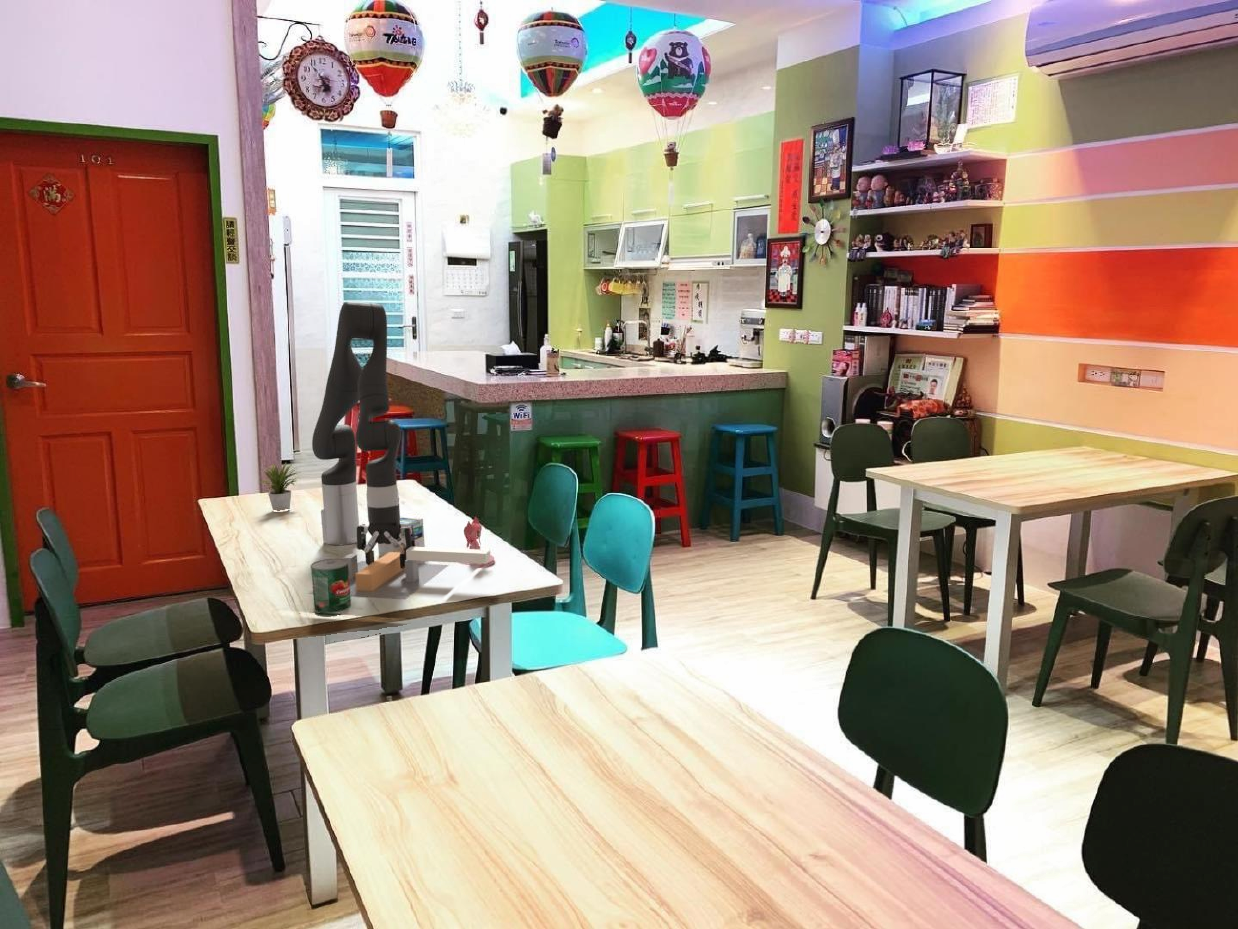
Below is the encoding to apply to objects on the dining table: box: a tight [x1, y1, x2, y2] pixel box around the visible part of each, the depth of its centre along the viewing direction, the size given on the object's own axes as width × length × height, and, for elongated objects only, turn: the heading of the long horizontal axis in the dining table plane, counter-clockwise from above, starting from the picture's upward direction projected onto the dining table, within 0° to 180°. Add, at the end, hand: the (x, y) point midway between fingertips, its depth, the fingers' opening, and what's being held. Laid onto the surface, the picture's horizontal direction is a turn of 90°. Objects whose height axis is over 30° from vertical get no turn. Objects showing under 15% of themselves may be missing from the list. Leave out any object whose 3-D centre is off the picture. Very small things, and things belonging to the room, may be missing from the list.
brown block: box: [355, 552, 405, 591], centre depth 217 cm, size 4×18×4 cm, turn 169°
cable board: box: [308, 553, 449, 600], centre depth 217 cm, size 24×26×6 cm
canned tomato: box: [310, 557, 352, 618], centre depth 198 cm, size 8×8×11 cm
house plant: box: [259, 461, 303, 511], centre depth 290 cm, size 14×14×16 cm
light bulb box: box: [377, 516, 426, 557], centre depth 237 cm, size 11×7×11 cm, turn 65°
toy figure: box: [459, 516, 495, 569], centre depth 232 cm, size 10×10×12 cm
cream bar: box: [406, 546, 491, 565], centre depth 213 cm, size 20×3×2 cm, turn 79°
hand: (387, 566), depth 220 cm, fingers open, 8 cm apart
